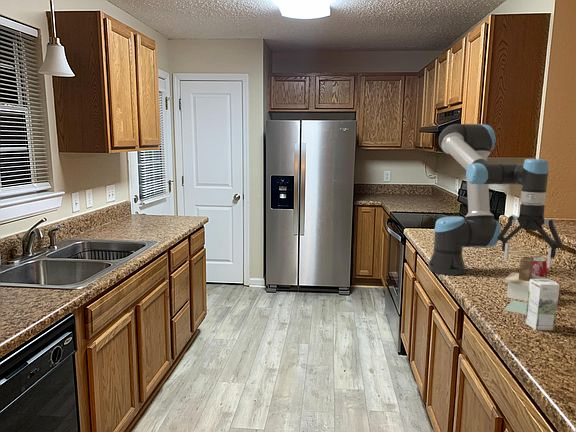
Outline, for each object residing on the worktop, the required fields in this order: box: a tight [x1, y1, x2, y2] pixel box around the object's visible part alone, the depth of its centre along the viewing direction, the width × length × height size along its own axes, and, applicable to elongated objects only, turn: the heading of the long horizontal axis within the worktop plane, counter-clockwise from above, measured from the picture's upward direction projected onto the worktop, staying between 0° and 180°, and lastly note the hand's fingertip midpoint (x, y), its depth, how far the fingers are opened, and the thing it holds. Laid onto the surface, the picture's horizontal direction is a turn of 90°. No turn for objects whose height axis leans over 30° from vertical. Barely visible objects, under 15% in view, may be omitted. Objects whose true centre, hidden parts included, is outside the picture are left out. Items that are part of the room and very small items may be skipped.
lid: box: [504, 256, 545, 286], centre depth 159 cm, size 11×11×8 cm
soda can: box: [531, 256, 548, 279], centre depth 169 cm, size 7×7×12 cm
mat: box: [503, 299, 527, 316], centre depth 148 cm, size 12×12×1 cm
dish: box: [506, 282, 529, 302], centre depth 160 cm, size 9×9×6 cm
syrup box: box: [524, 278, 561, 331], centre depth 132 cm, size 6×6×14 cm
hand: (526, 263), depth 158 cm, fingers open, 13 cm apart
